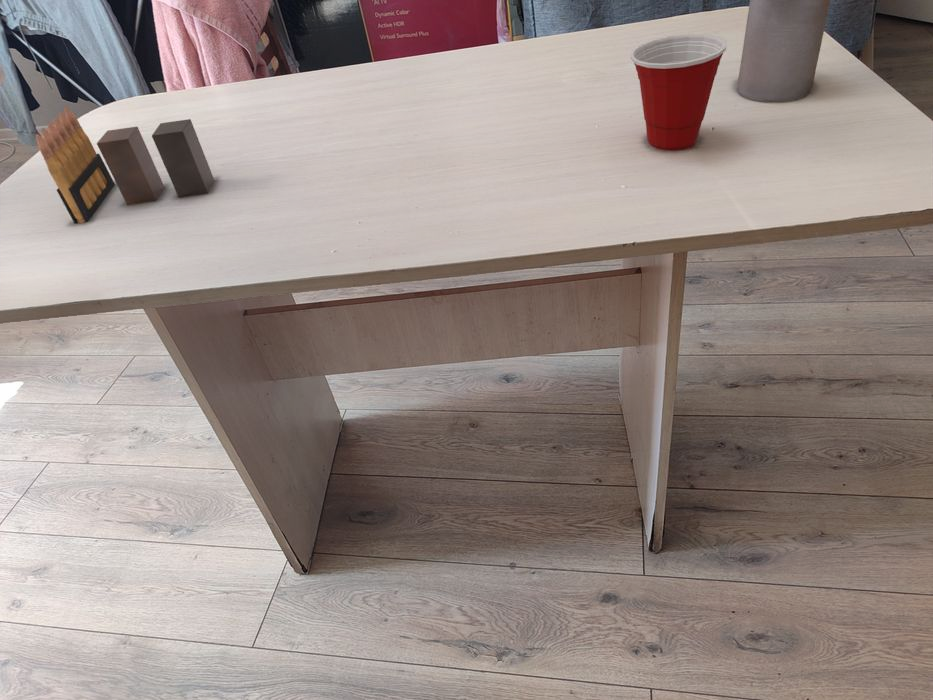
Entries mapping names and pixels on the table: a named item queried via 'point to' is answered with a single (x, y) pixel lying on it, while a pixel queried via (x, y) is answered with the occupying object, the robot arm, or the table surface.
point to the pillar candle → (781, 48)
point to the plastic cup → (676, 86)
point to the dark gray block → (183, 158)
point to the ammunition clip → (75, 166)
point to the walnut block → (131, 165)
